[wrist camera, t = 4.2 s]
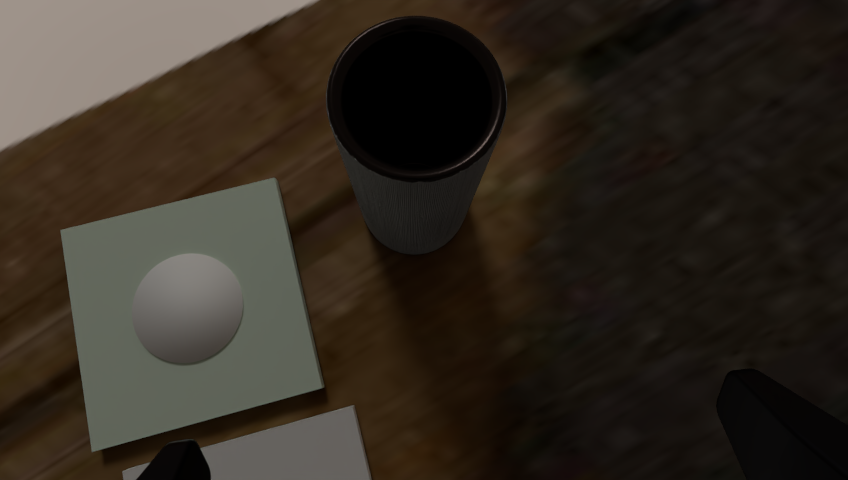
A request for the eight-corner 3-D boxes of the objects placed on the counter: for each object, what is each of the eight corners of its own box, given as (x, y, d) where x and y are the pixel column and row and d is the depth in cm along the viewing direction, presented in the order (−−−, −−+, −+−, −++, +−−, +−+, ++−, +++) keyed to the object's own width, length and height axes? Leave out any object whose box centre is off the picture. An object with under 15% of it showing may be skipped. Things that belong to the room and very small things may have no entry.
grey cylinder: (480, 176, 24) (532, 49, 13) (444, 271, 23) (471, 210, 13) (385, 140, 24) (366, -12, 14) (345, 233, 23) (295, 142, 13)
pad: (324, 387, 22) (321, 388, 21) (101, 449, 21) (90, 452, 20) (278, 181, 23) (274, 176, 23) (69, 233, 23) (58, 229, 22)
